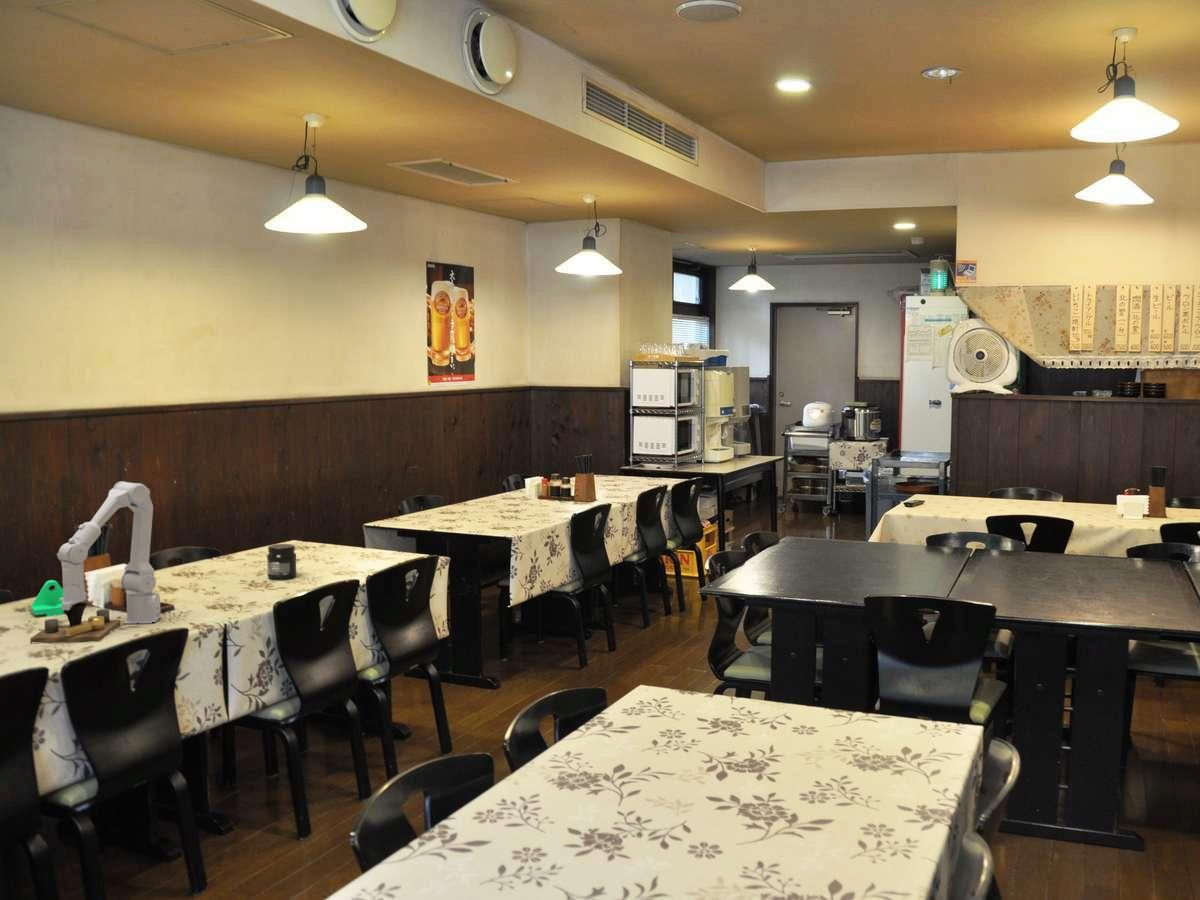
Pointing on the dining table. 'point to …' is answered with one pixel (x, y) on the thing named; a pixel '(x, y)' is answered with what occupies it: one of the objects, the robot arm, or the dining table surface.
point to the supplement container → (281, 562)
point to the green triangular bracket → (48, 600)
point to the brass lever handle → (86, 626)
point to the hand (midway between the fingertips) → (75, 628)
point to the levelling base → (57, 633)
